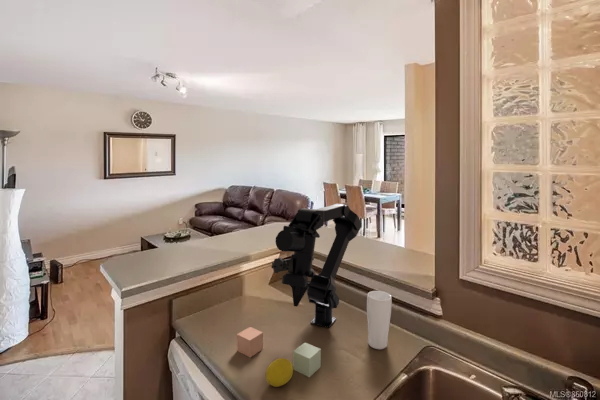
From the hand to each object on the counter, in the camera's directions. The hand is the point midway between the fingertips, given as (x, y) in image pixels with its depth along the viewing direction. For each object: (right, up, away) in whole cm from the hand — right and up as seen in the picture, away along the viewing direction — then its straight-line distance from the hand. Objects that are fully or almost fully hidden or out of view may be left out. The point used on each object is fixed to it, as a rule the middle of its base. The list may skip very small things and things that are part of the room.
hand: (295, 306), depth 92 cm
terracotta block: (-13, -12, -2) cm, 17 cm away
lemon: (-1, -10, -13) cm, 16 cm away
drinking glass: (+24, -12, 0) cm, 26 cm away
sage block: (+3, -13, -10) cm, 16 cm away
